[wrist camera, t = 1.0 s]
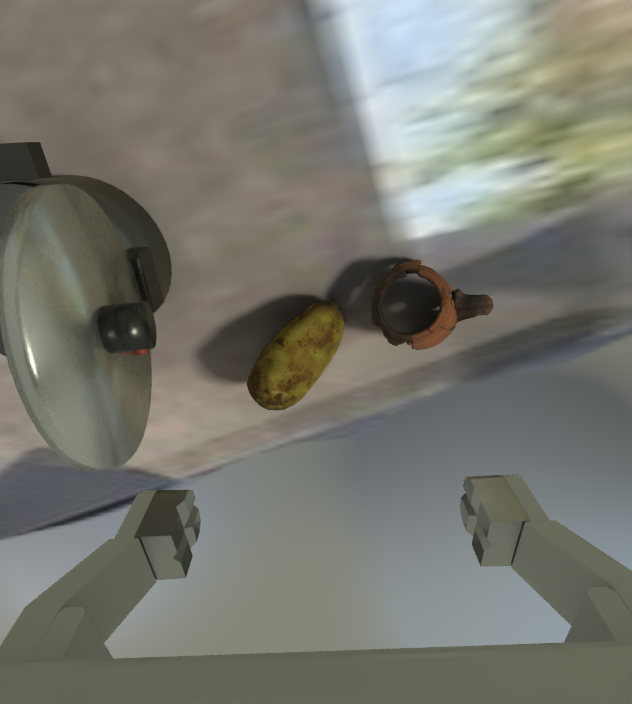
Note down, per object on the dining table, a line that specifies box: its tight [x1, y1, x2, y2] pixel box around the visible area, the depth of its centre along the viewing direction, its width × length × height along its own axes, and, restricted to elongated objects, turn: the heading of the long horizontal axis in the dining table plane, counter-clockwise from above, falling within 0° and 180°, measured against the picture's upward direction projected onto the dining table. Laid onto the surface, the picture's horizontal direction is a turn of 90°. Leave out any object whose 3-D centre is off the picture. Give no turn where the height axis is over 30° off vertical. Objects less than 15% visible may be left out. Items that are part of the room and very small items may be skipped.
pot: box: [0, 142, 172, 357], centre depth 36 cm, size 21×17×10 cm
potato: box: [247, 301, 344, 410], centre depth 42 cm, size 8×13×8 cm, turn 121°
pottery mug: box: [371, 260, 493, 350], centre depth 40 cm, size 12×10×8 cm
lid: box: [0, 184, 156, 471], centre depth 24 cm, size 17×17×3 cm
